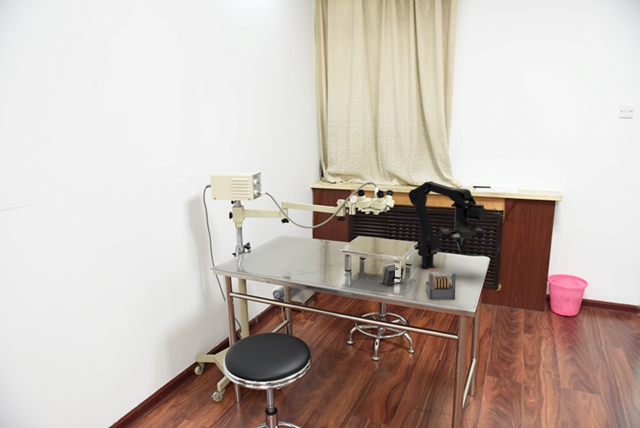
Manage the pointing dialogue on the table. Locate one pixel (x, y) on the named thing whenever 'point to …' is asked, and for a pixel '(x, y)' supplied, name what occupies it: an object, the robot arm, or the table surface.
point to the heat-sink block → (439, 280)
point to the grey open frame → (441, 292)
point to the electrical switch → (390, 273)
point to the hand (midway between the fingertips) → (460, 251)
